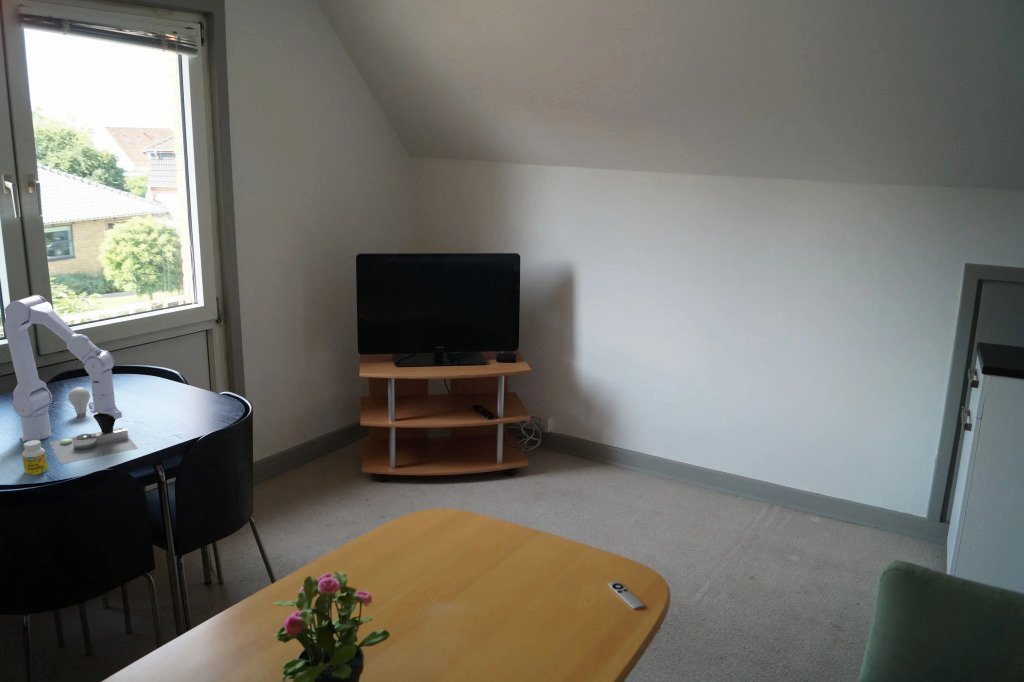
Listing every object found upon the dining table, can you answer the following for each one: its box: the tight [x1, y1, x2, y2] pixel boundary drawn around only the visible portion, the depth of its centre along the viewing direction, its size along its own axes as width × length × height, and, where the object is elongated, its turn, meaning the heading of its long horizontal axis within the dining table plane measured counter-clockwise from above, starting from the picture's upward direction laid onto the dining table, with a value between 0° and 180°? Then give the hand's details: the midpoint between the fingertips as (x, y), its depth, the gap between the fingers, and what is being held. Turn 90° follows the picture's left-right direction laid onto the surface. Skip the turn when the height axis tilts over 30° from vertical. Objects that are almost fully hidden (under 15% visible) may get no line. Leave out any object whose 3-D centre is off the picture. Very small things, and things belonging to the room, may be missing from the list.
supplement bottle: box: [21, 440, 49, 476], centre depth 215 cm, size 5×5×10 cm
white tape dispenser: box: [73, 428, 129, 450], centre depth 234 cm, size 14×6×3 cm, turn 129°
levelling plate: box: [48, 427, 139, 465], centre depth 233 cm, size 20×20×2 cm
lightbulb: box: [67, 386, 91, 418], centre depth 256 cm, size 6×6×11 cm
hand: (108, 436), depth 237 cm, fingers closed
